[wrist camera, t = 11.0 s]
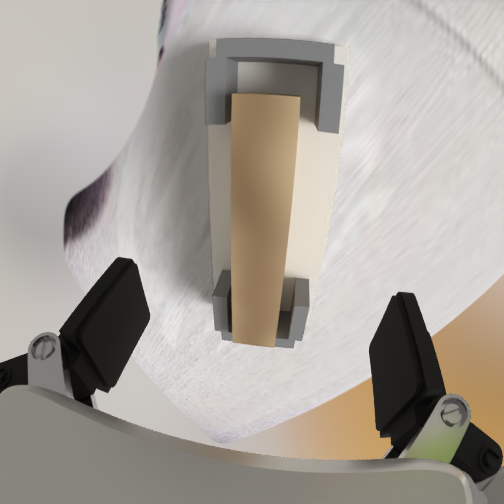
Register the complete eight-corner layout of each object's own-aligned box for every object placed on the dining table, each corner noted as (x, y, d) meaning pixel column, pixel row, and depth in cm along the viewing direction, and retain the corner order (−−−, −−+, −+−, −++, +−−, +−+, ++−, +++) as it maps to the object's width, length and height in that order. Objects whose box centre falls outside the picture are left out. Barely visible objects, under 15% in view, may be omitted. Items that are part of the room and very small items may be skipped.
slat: (299, 95, 14) (300, 97, 11) (278, 309, 23) (274, 347, 20) (246, 92, 15) (231, 93, 11) (242, 305, 23) (232, 342, 20)
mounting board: (347, 49, 13) (361, 39, 10) (308, 317, 24) (308, 353, 21) (213, 42, 14) (191, 32, 11) (218, 307, 25) (206, 341, 22)
